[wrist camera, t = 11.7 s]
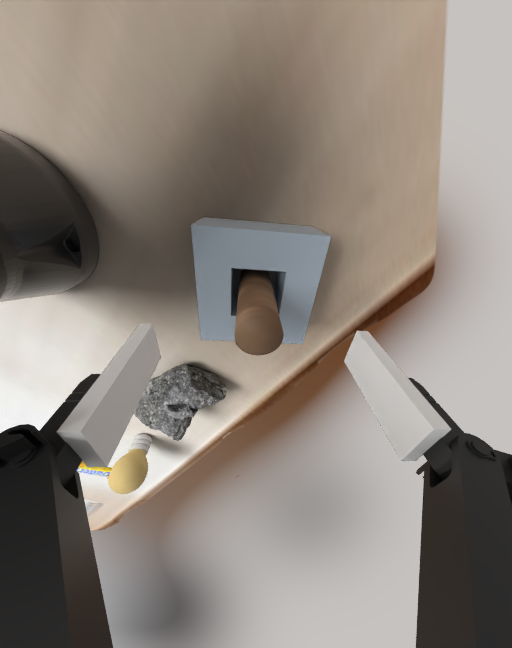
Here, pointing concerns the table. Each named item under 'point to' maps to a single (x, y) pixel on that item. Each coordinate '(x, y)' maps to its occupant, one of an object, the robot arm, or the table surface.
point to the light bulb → (131, 466)
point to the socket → (257, 254)
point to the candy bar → (94, 470)
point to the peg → (257, 314)
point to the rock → (178, 399)
